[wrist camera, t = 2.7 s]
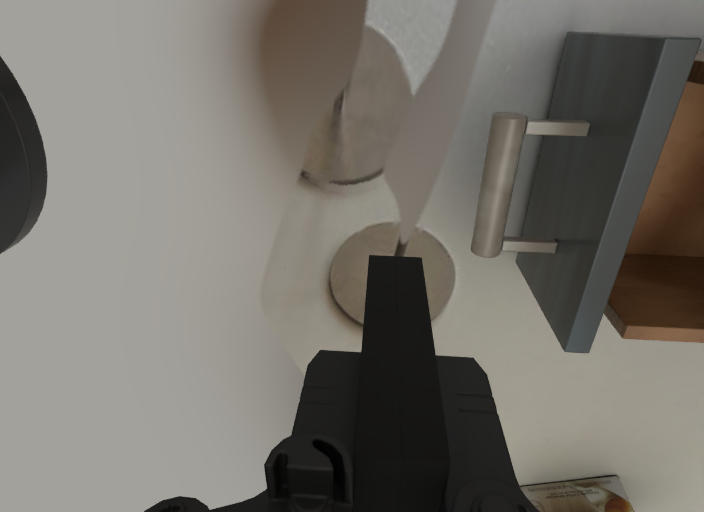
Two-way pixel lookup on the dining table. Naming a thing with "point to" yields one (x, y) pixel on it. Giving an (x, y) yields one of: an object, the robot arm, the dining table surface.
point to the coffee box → (580, 496)
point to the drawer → (609, 191)
